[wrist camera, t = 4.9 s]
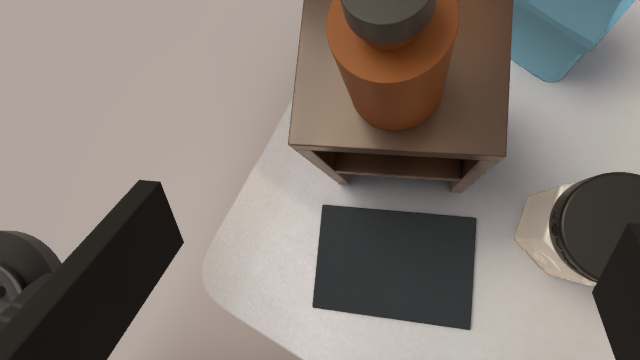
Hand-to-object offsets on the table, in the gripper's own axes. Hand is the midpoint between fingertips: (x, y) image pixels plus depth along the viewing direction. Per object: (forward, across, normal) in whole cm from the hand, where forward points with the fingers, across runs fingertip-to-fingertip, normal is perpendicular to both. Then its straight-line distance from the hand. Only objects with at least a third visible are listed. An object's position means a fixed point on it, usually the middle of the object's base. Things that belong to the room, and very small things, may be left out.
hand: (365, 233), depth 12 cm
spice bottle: (+15, 0, -2) cm, 15 cm away
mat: (+21, 0, -25) cm, 32 cm away
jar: (+24, +16, -21) cm, 36 cm away
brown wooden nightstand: (+30, 0, -16) cm, 34 cm away
